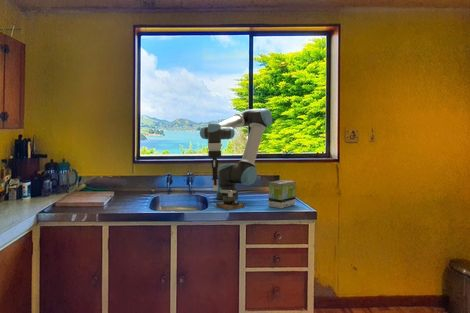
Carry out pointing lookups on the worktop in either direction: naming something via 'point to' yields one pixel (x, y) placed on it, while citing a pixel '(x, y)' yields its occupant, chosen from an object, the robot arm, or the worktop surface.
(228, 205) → the stand
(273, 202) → the tea box
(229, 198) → the cam capstan
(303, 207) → the worktop surface
